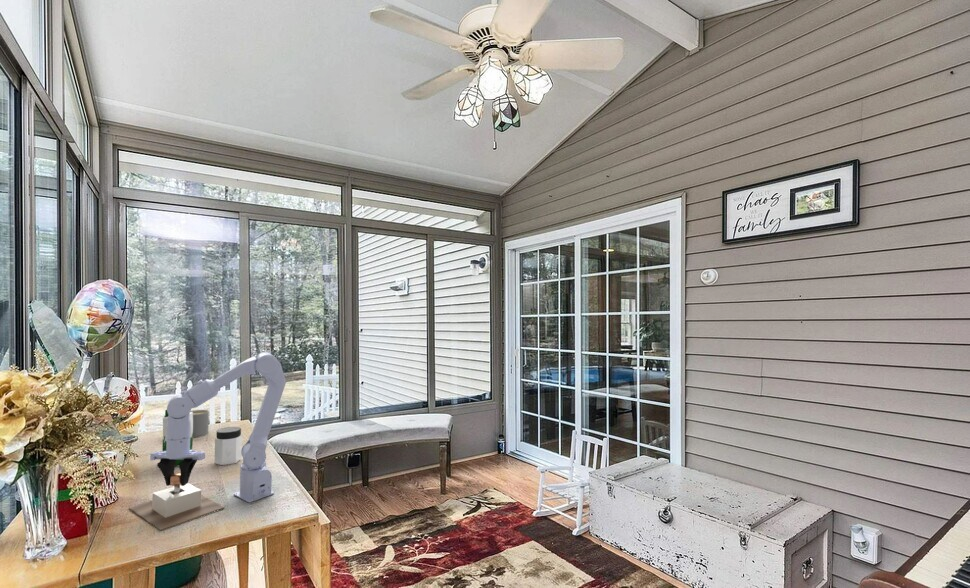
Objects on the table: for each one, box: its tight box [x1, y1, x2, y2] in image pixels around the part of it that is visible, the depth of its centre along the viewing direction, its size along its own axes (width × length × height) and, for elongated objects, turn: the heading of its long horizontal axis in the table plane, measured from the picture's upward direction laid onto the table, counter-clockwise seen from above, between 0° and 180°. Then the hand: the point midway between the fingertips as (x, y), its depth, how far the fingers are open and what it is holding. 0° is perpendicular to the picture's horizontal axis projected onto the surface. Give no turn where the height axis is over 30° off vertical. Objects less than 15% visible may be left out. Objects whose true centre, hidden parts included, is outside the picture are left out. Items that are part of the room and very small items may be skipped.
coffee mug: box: [190, 409, 210, 438], centre depth 202 cm, size 13×10×10 cm
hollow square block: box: [151, 482, 202, 518], centre depth 130 cm, size 9×9×5 cm
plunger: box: [169, 471, 181, 494], centre depth 130 cm, size 4×4×7 cm
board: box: [128, 494, 225, 532], centre depth 130 cm, size 22×16×1 cm
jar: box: [213, 426, 243, 466], centre depth 169 cm, size 9×8×12 cm
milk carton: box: [161, 409, 194, 467], centre depth 167 cm, size 9×9×20 cm
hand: (177, 484), depth 130 cm, fingers closed on plunger, 4 cm apart
